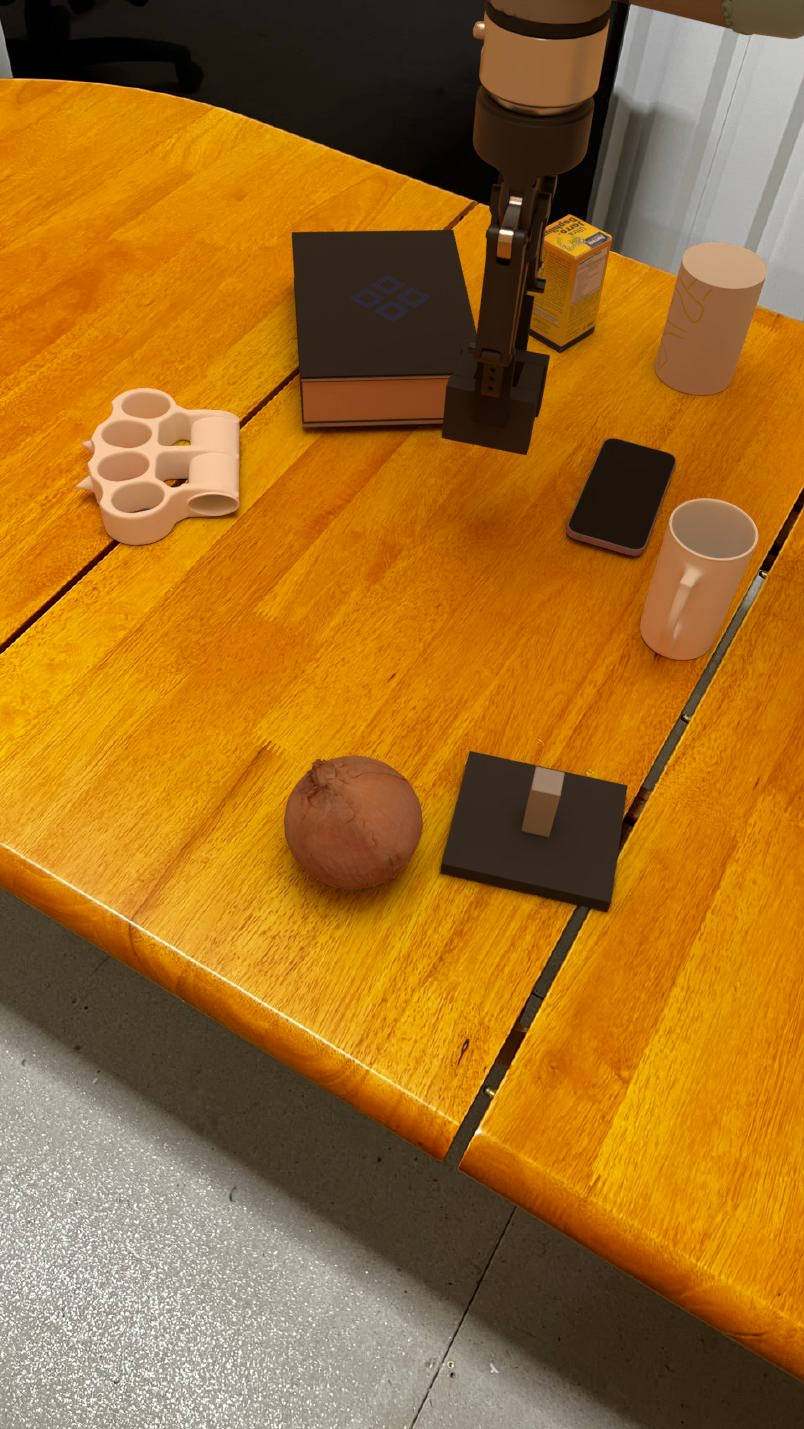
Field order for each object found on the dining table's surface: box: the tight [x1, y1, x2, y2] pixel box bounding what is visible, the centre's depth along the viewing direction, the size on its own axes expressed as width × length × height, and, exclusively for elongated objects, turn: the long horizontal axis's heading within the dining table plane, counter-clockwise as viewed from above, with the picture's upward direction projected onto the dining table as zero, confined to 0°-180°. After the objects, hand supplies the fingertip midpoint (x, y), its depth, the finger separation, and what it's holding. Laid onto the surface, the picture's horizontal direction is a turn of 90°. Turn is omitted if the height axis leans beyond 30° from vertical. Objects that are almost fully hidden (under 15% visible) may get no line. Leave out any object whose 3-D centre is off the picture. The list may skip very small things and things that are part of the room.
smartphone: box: [566, 437, 677, 557], centre depth 102 cm, size 7×1×15 cm
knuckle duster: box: [74, 387, 241, 546], centre depth 101 cm, size 3×18×15 cm
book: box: [291, 229, 477, 429], centre depth 112 cm, size 17×25×7 cm
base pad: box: [439, 750, 628, 913], centre depth 78 cm, size 12×10×7 cm
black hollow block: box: [441, 339, 551, 456], centre depth 88 cm, size 7×7×5 cm
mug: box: [639, 497, 759, 661], centre depth 87 cm, size 10×7×12 cm, turn 151°
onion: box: [283, 755, 424, 891], centre depth 75 cm, size 10×9×10 cm
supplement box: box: [528, 214, 613, 353], centre depth 114 cm, size 6×6×11 cm
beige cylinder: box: [654, 241, 768, 396], centre depth 110 cm, size 8×8×12 cm
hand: (498, 393), depth 88 cm, fingers closed on black hollow block, 7 cm apart
